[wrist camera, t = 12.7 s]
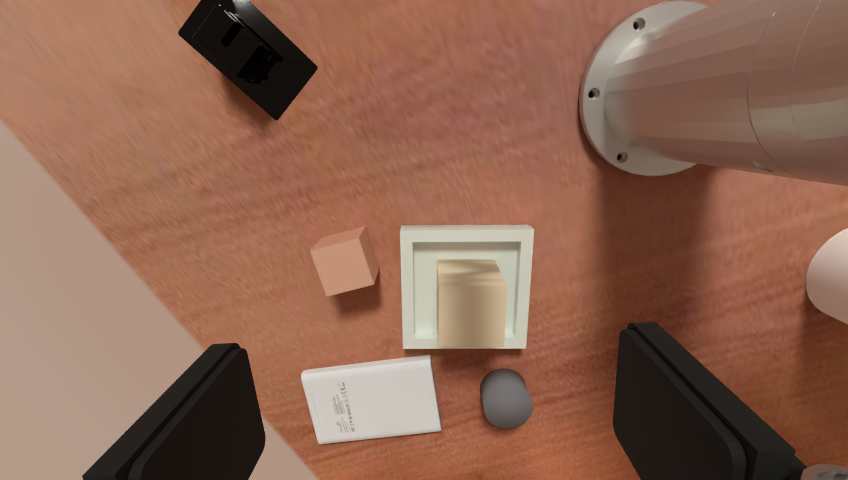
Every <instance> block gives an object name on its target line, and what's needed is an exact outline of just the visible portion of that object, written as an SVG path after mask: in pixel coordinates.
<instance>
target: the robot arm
mask: <svg viewBox="0 0 848 480" xmlns="http://www.w3.org/2000/svg"><path fill="white" fill-rule="evenodd" d="M633 23H634V24H635V25H636V29H634V28H633ZM590 91H591V92H592V94H593V95H592V97H591V98H589V96H588V93H589V92H590ZM579 110H580V118H581V122H582V126H583V130H584V132H585V134H586V137H587V139H588V141H589V143H590V144H591V146H592V147H593V148H594V150H595V151H596V152H597V154H598V155H600V156H601V157H602V158H603V159H604V160H605V161H606V162H608V163H609V164H611V165H613V166H614V167H616V168H618V169H620V170H623V171H626V172H629V173H633V174H638V175H643V176H664V175H669V174H674V173H678V172H680V171H683V170H686V169H688V168H691V167H693V166H694V165H696V164H703V165H709V166H716V167H723V168H729V169H736V170H742V171H749V172H755V173H762V174H768V175H775V176H781V177H788V178H795V179H801V180H808V181H816V182H822V183H829V184H836V185H843V186H848V0H723V1H721V2H718V3H716V4H713V5H711V6H707V5H704V4H701V3H698V2H691V1H671V2H663V3H660V4H657V5H654V6H650V7H647V8H645V9H643V10H641V11H639V12H637V13H635V14H633V15H631V16H630V17H628V18H627V19H625V20H624V21H622V22H621V23H619V24H618V25H617V26H616V27H615V28H614V29H613V30H612V31H611V32H610V33H609V34H607V35H606V36H605V38H604V39H603V40H602V42H601V43H600V44H599V46H598V47H597V48H596V50H595V51H594V53H593V55H592V57H591V59H590V61H589V63H588V64H587V66H586V69H585V73H584V76H583V79H582V82H581V88H580V96H579ZM618 154H620V158H619V159H617V155H618ZM613 426H614V431H615V434H616V436H617V439H618V440H619V442H620V444H621V446H622V447H623V449H624V451H625V452H626V454H627V456H628V458H629V459H630V461H631V463H632V465H633V466H634V468H635V470H636V472H637V473H638V475H639V477H640V479H641V480H848V467H845V466H842V465H834V464H826V463H824V464H815V465H811V466H809V467H807V466H805V465H804V464H803V463H802V462H801V461H800V460H799V459H798V458H797V457H796V456H795V455H794V454H795V449H794V448H793V447H792V446H790V445H789V444H788V443H787V442H786V441H785V440H784V439H783V438H782V437H781V436H780V435H778V434H777V433H776V432H775V431H774V430H773V429H772V428H771V427H770V426H769V425H768V424H766V423H765V422H764V421H763V420H762V419H761V418H760V417H759V416H758V415H757V414H756V413H754V412H753V411H752V410H751V409H750V408H749V407H748V406H747V405H746V404H745V403H743V402H742V401H741V400H740V399H739V398H738V397H737V396H736V395H735V394H734V393H733V392H731V391H730V390H729V389H728V388H727V387H726V386H725V385H724V384H723V383H722V382H721V381H719V380H718V379H717V378H716V377H715V376H714V375H713V374H712V373H711V372H710V371H709V370H707V369H706V368H705V367H704V366H703V365H702V364H701V363H700V362H699V361H698V360H696V359H695V358H694V357H693V356H692V355H691V354H690V353H689V352H688V351H687V350H686V349H684V348H683V347H682V346H681V345H680V344H679V343H678V342H677V341H676V340H675V339H674V338H672V337H671V336H670V335H669V334H668V333H667V332H666V331H665V330H664V329H663V328H662V327H660V326H659V325H658V324H657V323H655V322H648V323H630V324H629V325H628V326H627V328H626V330H622V331H621V332H620V336H619V349H618V362H617V375H616V388H615V401H614V414H613ZM264 446H265V432H264V427H263V422H262V418H261V413H260V409H259V404H258V400H257V395H256V390H255V386H254V381H253V377H252V372H251V368H250V363H249V359H248V354H247V351H246V350H245V349H244V348H240V346H239V345H238V344H237V343H226V344H213V345H211V346H210V347H209V348H208V349H207V350H206V351H205V352H204V353H203V354H202V355H201V356H200V357H199V358H198V359H197V360H196V361H195V362H194V363H193V364H192V365H191V366H190V367H189V368H188V369H187V370H186V371H185V372H184V373H183V374H182V375H181V376H180V377H179V378H178V379H177V380H176V381H175V382H174V384H172V385H171V386H170V387H169V388H168V389H167V390H166V391H165V392H164V393H163V394H162V395H161V397H159V399H157V401H156V402H155V403H154V404H153V405H152V406H151V407H150V408H149V409H148V410H147V411H146V412H145V413H144V414H143V415H142V416H141V417H140V418H139V419H138V420H137V421H136V422H135V423H134V424H133V425H132V426H131V427H130V428H129V429H128V430H127V431H126V432H125V433H124V434H123V435H122V436H121V437H120V438H119V439H118V440H117V441H116V442H115V443H114V444H113V445H112V446H111V447H110V448H109V449H108V450H107V451H106V452H105V453H104V455H102V456H101V457H100V458H99V459H98V460H97V461H96V462H95V463H94V465H92V467H91V468H90V469H89V470H88V471H87V472H86V473H85V474H84V475H83V476H82V477H83V480H248V479H249V477H250V475H251V473H252V471H253V469H254V467H255V465H256V464H257V462H258V460H259V458H260V456H261V454H262V452H263V449H264Z"/></svg>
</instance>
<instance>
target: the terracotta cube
mask: <svg viewBox="0 0 848 480" xmlns="http://www.w3.org/2000/svg"><path fill="white" fill-rule="evenodd" d="M310 252H311V255H312V258H313V260H314V263H315V266H316V269H317V271H318V274H319V277H320V279H321V282H322V285H323V288H324V290H325V293H326V296H331V295H335V294H339V293H343V292H347V291H351V290H355V289H358V288H362V287H366V286H370V285H374V283H375V280H376V277H377V274H378V271H379V264H378V261H377V258H376V255H375V252H374V249H373V246H372V243H371V240H370V237H369V234H368V231H367V227H366V226H364V227H360V228H356V229H352V230H349V231H345V232H341V233H338V234H334V235H330V236H326V237H323V238H322V239H321V240H320V241H319V242H318V243H317V244H316V245H315V246H314V247H313V248H312V250H311V251H310Z"/></svg>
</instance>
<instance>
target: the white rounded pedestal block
mask: <svg viewBox="0 0 848 480" xmlns="http://www.w3.org/2000/svg"><path fill="white" fill-rule="evenodd" d="M806 290H807V293H808V297H809V299H810V300H811V302H812V303H813V305H814V306H815V307H816V308H817V309H819V310H820V311H822V312H823V313H825V314H827V315H829V316H831V317H833V318H835V319H837V320H839V321H842V322H844V323H846V324H848V228H847V229H845V230H843V231H841V232H839V233H838V234H836V235H835V236H833V237H832V238H830V239H829V240H828V241H827V242H826V243H825V244H824V245H823V246H822V247H821V248H820V249H819V250H818V252H817V253H816V255H815V256H814V258H813V260H812V261H811V263H810V266H809V269H808V272H807V275H806Z"/></svg>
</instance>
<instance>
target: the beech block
mask: <svg viewBox="0 0 848 480" xmlns="http://www.w3.org/2000/svg"><path fill="white" fill-rule="evenodd" d="M507 288H508V286H507V284H506V282H505V280H504V278H503V276H502V274H501V272H500V270H499V268H498V266H497V264H496V262H495V260H494V259H437V330H438V347H504V338H505V322H506V305H507Z"/></svg>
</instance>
